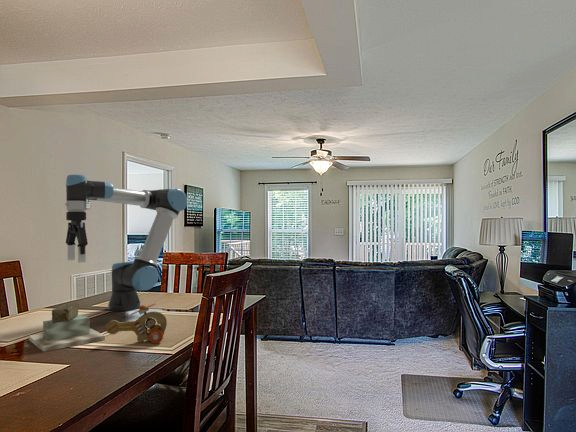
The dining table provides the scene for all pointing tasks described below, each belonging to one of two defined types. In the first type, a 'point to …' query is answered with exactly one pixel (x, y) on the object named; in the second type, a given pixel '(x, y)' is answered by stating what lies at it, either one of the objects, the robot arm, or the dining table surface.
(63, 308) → the stone block
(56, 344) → the tower base
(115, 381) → the dining table surface
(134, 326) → the toy helicopter
